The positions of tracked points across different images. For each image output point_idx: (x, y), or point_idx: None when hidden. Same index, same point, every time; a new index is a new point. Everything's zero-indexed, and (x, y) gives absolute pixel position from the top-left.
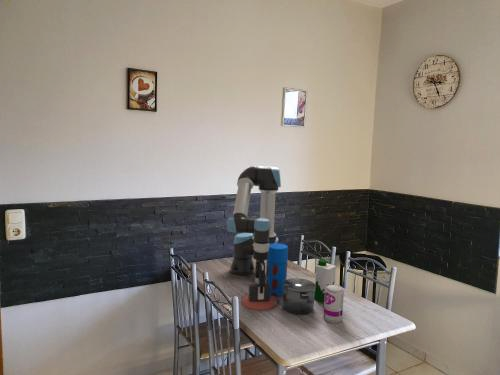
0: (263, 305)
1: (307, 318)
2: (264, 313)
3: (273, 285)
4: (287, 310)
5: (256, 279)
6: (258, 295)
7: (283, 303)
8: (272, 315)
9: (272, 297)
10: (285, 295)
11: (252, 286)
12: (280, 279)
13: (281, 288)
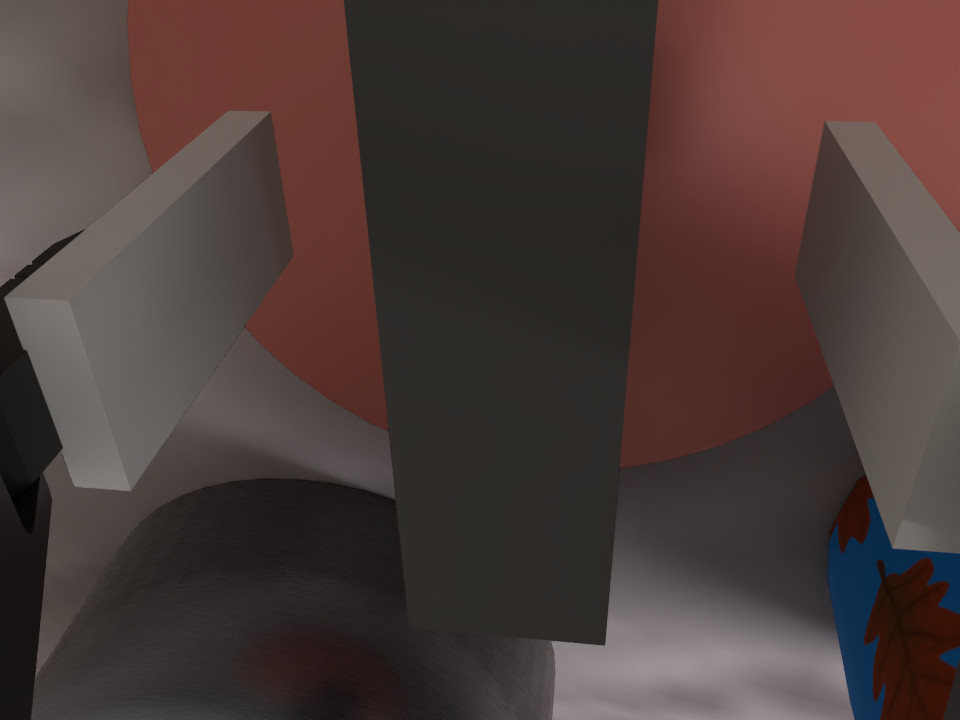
0: None
1: (46, 651)
2: (45, 145)
3: (924, 644)
4: (155, 524)
5: (941, 365)
6: (184, 158)
7: (233, 551)
8: (5, 270)
9: (662, 443)
10: (88, 712)
11: (350, 36)
12: None
13: (851, 704)
